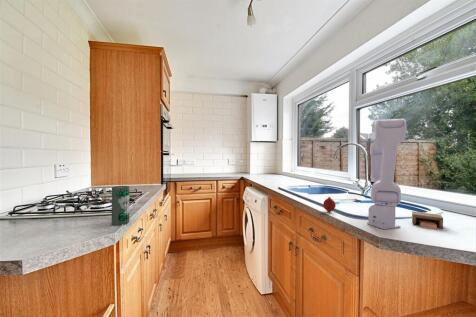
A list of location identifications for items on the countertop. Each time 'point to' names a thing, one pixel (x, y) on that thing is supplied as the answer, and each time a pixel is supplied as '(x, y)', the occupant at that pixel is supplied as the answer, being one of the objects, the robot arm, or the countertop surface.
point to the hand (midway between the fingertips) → (377, 195)
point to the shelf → (427, 218)
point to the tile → (427, 224)
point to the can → (120, 205)
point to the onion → (329, 204)
